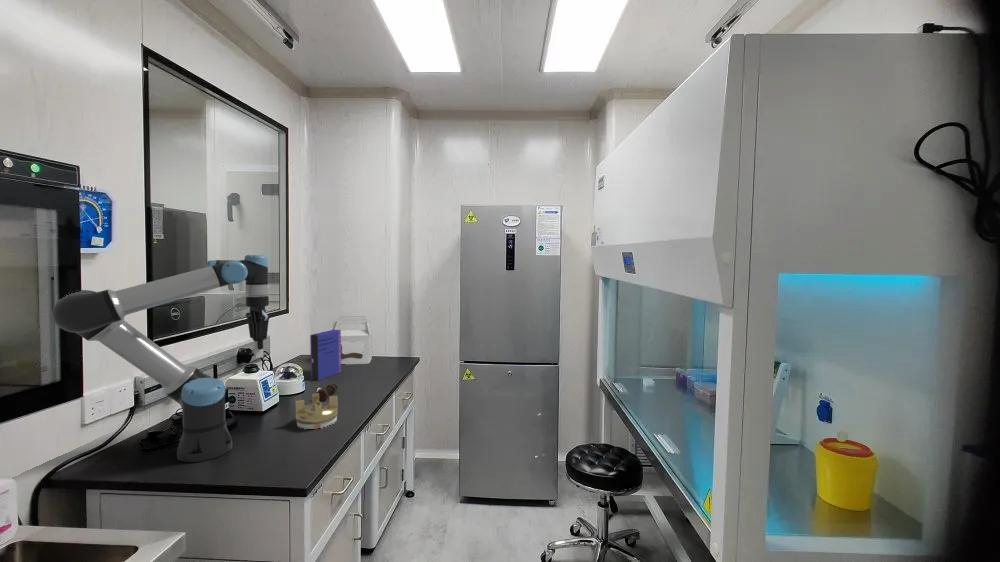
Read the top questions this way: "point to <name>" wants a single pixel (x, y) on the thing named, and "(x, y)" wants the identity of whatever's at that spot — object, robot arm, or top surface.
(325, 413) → the ring nut
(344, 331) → the gable box
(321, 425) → the mounting flange
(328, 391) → the bolt
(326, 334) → the cereal box
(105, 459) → the top surface
